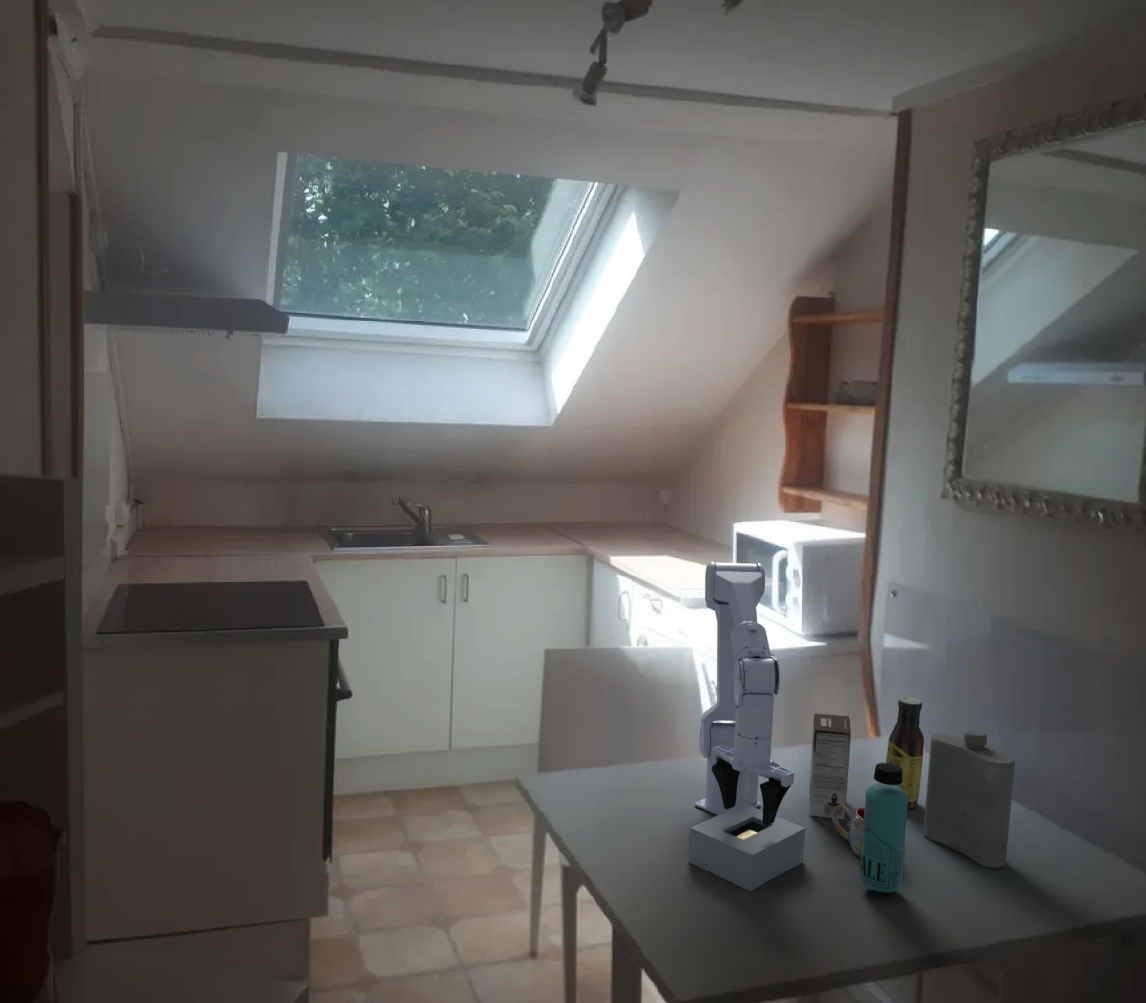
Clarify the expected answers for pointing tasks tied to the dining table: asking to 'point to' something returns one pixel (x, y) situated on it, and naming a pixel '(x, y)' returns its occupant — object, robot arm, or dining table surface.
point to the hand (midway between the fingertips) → (748, 815)
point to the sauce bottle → (908, 747)
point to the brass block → (746, 834)
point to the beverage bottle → (884, 830)
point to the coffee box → (829, 764)
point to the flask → (969, 797)
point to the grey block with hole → (746, 847)
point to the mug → (851, 827)
